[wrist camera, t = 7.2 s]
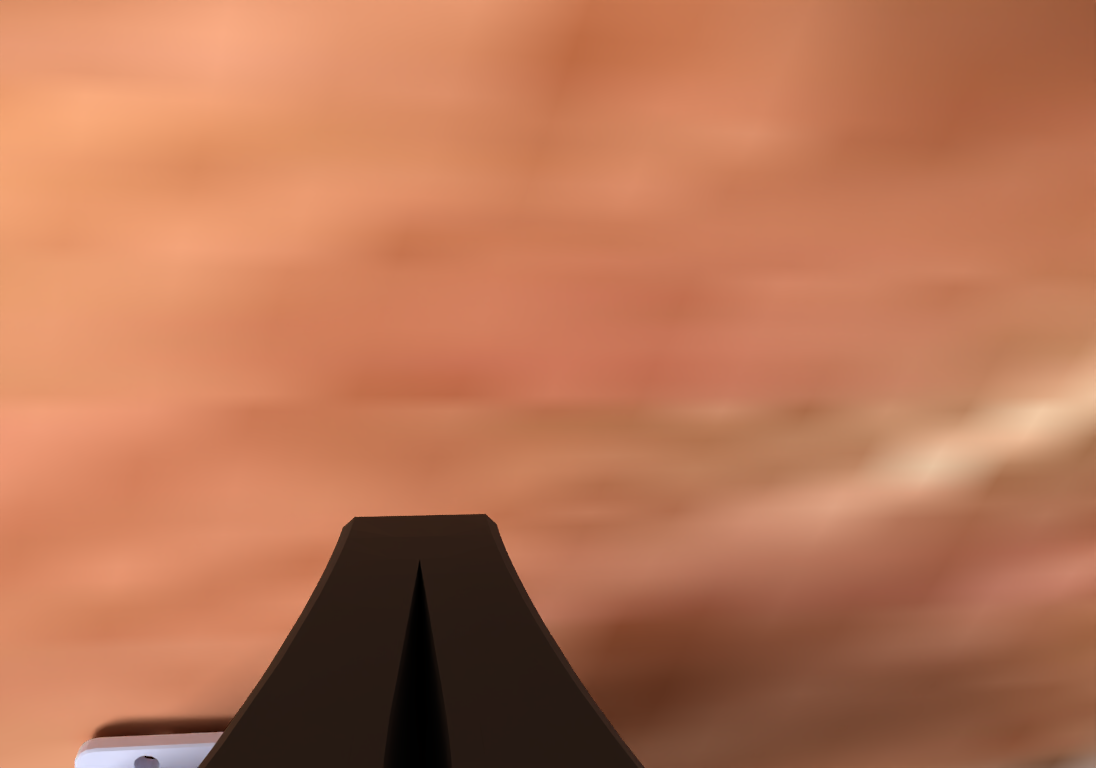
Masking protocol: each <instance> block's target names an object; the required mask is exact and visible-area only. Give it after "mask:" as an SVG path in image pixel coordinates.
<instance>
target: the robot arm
mask: <svg viewBox="0 0 1096 768" xmlns="http://www.w3.org/2000/svg"><path fill="white" fill-rule="evenodd" d="M143 756H152V757H154V758H155V759H149V758H145V757H143ZM75 768H644V767H643V765H642V764H641V763H640V762H639V760H638V759H637V758H636V756H635V755H634V754H633V753H632V751H631V750H630V749H629V747H628V746H627V745H626V744H625V742H624V741H623V740H622V738H621V737H620V736H619V734H618V733H617V731H616V730H615V729H614V727H613V726H612V725H611V723H610V722H609V720H608V719H607V718H606V716H605V715H604V714H603V712H602V711H601V710H600V708H599V707H598V705H597V704H596V703H595V701H594V700H593V698H592V697H591V696H590V694H589V693H588V691H587V690H586V688H585V687H584V685H583V684H582V682H581V681H580V679H579V678H578V676H577V675H576V673H575V672H574V670H573V669H572V667H571V666H570V664H569V662H568V661H567V659H566V658H565V656H564V654H563V653H562V651H561V650H560V648H559V646H558V645H557V643H556V642H555V640H554V638H553V637H552V635H551V634H550V632H549V631H548V629H547V627H546V626H545V624H544V622H543V621H542V619H541V617H540V615H539V614H538V612H537V610H536V608H535V607H534V605H533V603H532V601H531V599H530V597H529V596H528V594H527V592H526V590H525V588H524V586H523V584H522V582H521V580H520V579H519V577H518V575H517V573H516V570H515V568H514V566H513V564H512V562H511V560H510V558H509V556H508V553H507V551H506V549H505V546H504V544H503V541H502V539H501V536H500V533H499V530H498V527H497V524H496V523H495V522H493V521H492V520H491V519H490V518H489V517H488V516H487V515H486V514H470V515H426V516H382V517H354V518H353V519H352V520H351V521H350V522H349V523H348V524H346V525H345V526H344V527H343V529H342V532H341V534H340V537H339V540H338V542H337V545H336V547H335V549H334V551H333V554H332V556H331V558H330V560H329V562H328V564H327V567H326V569H325V571H324V573H323V575H322V576H321V578H320V580H319V582H318V584H317V586H316V588H315V590H314V592H313V593H312V595H311V597H310V599H309V601H308V602H307V604H306V606H305V608H304V610H303V612H302V613H301V615H300V617H299V618H298V620H297V622H296V623H295V625H294V626H293V628H292V630H291V631H290V633H289V635H288V636H287V638H286V640H285V641H284V643H283V644H282V646H281V648H280V649H279V651H278V653H277V654H276V656H275V658H274V659H273V661H272V662H271V664H270V666H269V667H268V669H267V670H266V672H265V673H264V675H263V677H262V678H261V680H260V681H259V683H258V684H257V686H256V687H255V688H254V690H253V691H252V693H251V694H250V695H249V697H248V698H247V700H246V701H245V702H244V704H243V705H242V707H241V708H240V710H239V711H238V712H237V714H236V715H235V717H234V718H233V719H232V721H231V722H230V724H229V725H228V727H227V728H226V729H225V731H224V732H207V733H185V734H163V735H141V736H119V737H99V738H94V739H90V740H88V741H86V742H84V743H83V744H82V746H81V747H80V748H79V751H78V753H77V756H76V759H75Z"/></svg>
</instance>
